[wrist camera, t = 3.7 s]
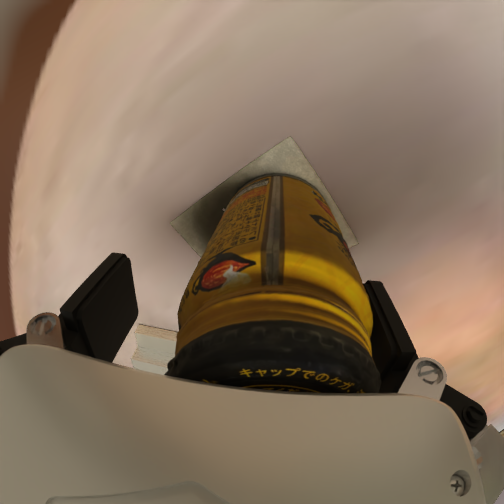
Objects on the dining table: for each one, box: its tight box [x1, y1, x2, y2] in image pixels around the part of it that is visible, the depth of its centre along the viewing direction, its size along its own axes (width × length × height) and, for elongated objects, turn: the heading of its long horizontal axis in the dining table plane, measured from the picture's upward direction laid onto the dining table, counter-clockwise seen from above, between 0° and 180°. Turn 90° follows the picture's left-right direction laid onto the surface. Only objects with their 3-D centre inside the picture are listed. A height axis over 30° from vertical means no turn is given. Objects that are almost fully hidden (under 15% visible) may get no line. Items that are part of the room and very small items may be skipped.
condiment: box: [164, 136, 381, 393], centre depth 11 cm, size 7×8×12 cm
